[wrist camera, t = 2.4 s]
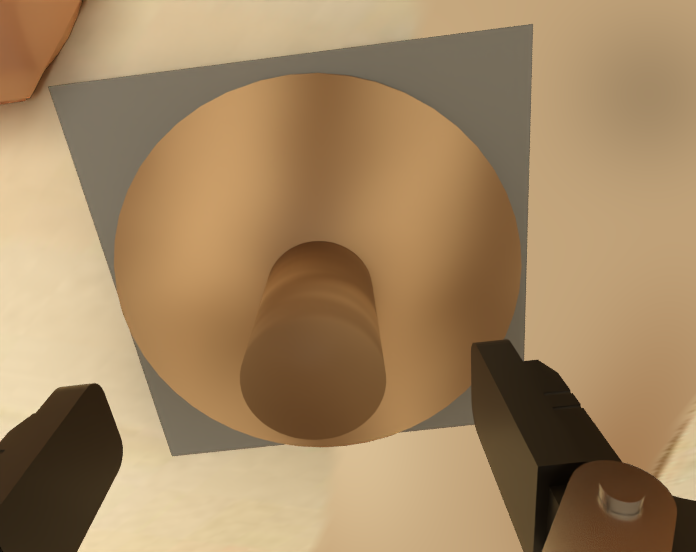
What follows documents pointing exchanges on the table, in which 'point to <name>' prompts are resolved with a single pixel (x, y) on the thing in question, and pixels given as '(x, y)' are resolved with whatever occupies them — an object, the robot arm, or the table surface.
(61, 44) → the bowl
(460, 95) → the mat
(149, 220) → the lid
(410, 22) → the table surface
